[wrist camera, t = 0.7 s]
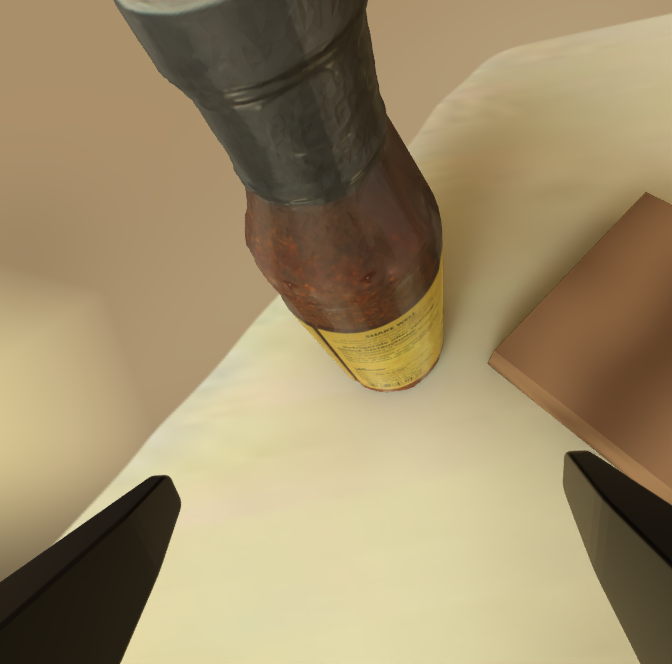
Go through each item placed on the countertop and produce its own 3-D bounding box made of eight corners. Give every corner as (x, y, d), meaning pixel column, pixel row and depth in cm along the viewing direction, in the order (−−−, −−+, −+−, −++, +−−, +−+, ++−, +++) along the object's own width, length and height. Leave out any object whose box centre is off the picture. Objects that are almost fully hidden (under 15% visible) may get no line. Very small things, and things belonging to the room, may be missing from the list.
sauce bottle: (461, 324, 23) (584, -242, 5) (409, 416, 22) (318, 128, 4) (366, 281, 25) (210, -211, 7) (315, 362, 24) (-25, 22, 6)
